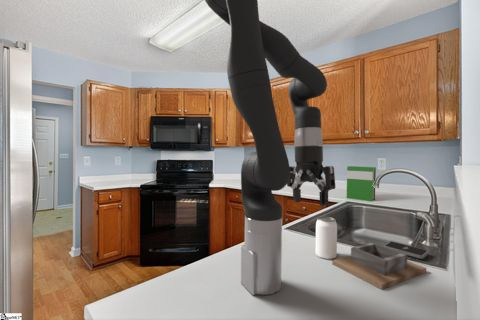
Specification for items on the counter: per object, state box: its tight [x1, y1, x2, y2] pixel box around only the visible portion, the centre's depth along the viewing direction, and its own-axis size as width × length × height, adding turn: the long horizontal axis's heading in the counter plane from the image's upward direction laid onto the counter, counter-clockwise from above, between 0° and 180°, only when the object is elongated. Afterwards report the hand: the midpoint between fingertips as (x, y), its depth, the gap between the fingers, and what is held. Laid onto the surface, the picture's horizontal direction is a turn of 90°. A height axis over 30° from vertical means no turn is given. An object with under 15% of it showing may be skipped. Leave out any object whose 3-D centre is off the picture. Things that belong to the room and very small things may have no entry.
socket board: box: [332, 242, 427, 290], centre depth 70 cm, size 20×15×5 cm
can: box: [315, 216, 338, 260], centre depth 79 cm, size 6×6×12 cm
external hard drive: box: [383, 241, 429, 261], centre depth 82 cm, size 7×11×2 cm, turn 39°
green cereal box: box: [346, 166, 377, 202], centre depth 181 cm, size 18×7×24 cm, turn 47°
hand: (309, 203), depth 67 cm, fingers open, 8 cm apart
